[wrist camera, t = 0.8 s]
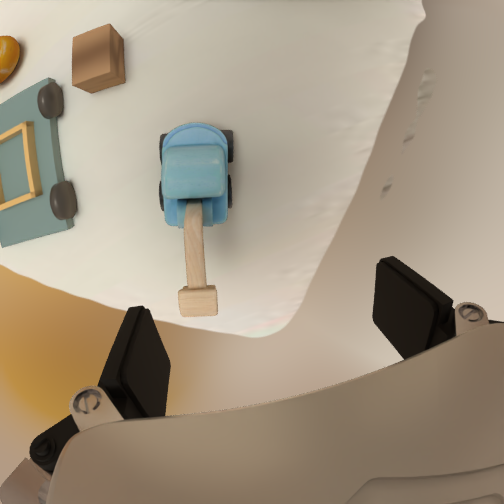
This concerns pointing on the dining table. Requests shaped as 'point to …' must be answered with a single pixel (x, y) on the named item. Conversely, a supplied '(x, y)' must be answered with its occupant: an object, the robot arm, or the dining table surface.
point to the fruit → (8, 56)
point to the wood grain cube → (98, 59)
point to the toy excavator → (196, 201)
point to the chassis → (33, 166)
